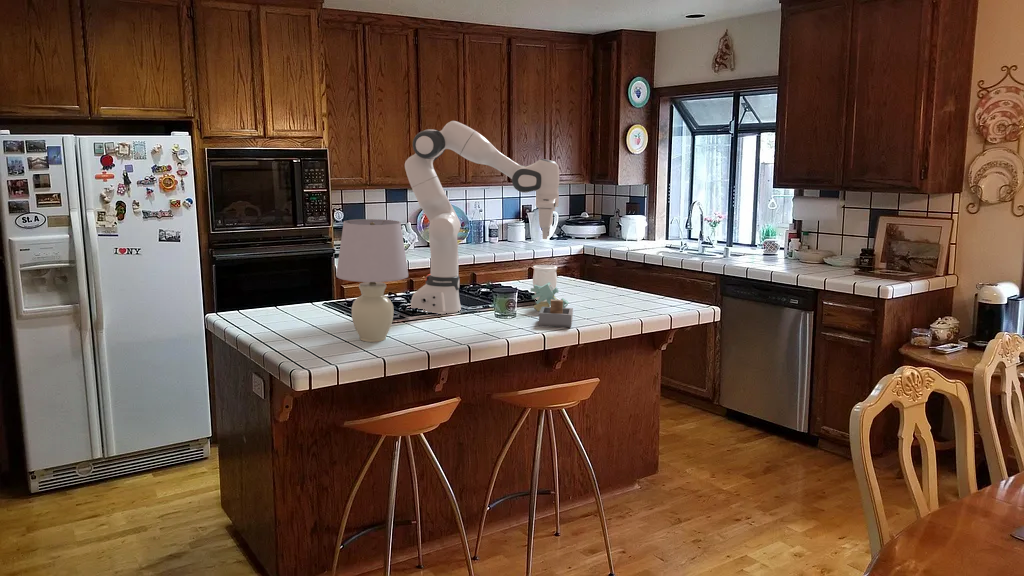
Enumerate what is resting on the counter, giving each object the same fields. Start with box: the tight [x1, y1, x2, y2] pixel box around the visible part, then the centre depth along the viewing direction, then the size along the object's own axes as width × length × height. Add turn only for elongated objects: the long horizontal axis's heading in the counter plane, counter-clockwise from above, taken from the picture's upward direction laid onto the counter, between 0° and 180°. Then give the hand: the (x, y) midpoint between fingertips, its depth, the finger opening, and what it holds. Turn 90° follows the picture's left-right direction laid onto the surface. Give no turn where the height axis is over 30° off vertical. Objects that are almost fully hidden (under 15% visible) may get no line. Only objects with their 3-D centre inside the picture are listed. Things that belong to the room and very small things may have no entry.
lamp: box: [335, 218, 409, 343], centre depth 263 cm, size 24×24×40 cm
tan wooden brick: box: [550, 299, 563, 314], centre depth 296 cm, size 4×2×8 cm, turn 83°
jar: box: [532, 264, 558, 302], centre depth 338 cm, size 11×10×15 cm
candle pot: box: [538, 306, 574, 328], centre depth 296 cm, size 12×12×5 cm
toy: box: [530, 282, 570, 312], centre depth 319 cm, size 10×14×15 cm
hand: (545, 237), depth 304 cm, fingers open, 8 cm apart
